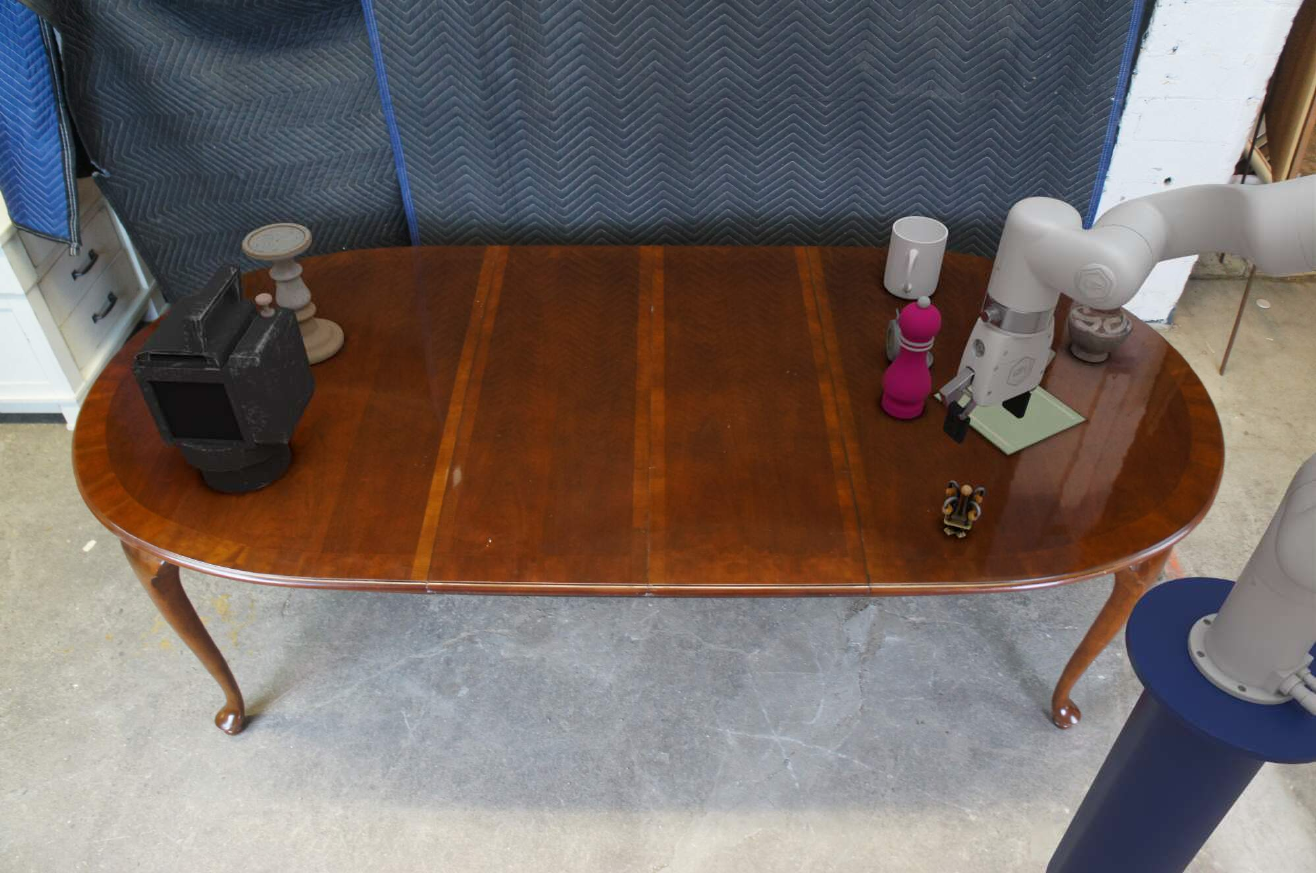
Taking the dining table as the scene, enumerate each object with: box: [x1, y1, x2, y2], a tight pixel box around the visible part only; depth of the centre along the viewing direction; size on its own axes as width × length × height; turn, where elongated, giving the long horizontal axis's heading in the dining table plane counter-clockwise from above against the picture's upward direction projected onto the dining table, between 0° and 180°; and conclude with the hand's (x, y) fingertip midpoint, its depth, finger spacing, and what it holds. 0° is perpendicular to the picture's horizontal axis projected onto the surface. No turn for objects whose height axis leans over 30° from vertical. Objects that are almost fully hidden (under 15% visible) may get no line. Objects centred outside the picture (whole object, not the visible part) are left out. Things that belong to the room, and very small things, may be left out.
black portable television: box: [130, 262, 317, 494], centre depth 133 cm, size 15×18×30 cm
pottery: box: [1052, 304, 1134, 363], centre depth 158 cm, size 11×25×12 cm, turn 101°
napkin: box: [933, 385, 1086, 456], centre depth 152 cm, size 16×16×1 cm
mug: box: [883, 215, 949, 301], centre depth 174 cm, size 10×12×12 cm
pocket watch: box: [885, 308, 934, 369], centre depth 158 cm, size 8×8×10 cm
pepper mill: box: [881, 296, 942, 420], centre depth 146 cm, size 7×7×20 cm
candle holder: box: [241, 222, 345, 366], centre depth 158 cm, size 12×12×20 cm
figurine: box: [941, 480, 986, 539], centre depth 130 cm, size 5×5×8 cm
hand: (983, 424), depth 121 cm, fingers open, 9 cm apart
